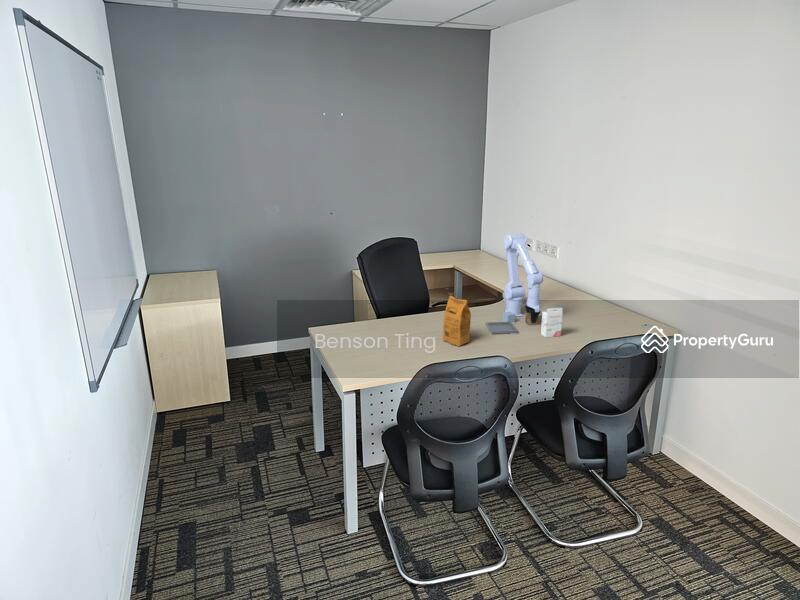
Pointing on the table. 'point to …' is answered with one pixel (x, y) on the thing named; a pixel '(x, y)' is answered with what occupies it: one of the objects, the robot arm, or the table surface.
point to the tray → (501, 327)
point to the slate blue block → (509, 317)
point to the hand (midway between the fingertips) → (531, 320)
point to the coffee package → (456, 322)
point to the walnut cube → (528, 320)
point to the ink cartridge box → (552, 322)
